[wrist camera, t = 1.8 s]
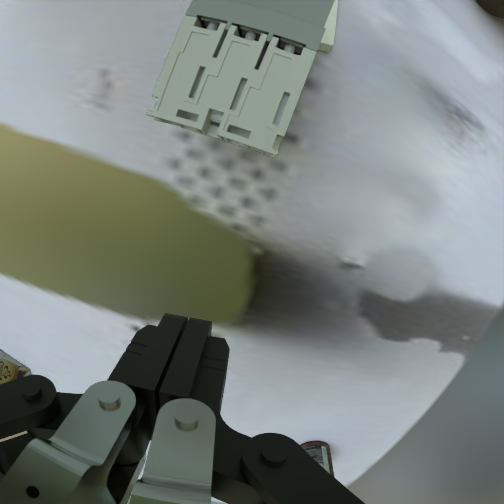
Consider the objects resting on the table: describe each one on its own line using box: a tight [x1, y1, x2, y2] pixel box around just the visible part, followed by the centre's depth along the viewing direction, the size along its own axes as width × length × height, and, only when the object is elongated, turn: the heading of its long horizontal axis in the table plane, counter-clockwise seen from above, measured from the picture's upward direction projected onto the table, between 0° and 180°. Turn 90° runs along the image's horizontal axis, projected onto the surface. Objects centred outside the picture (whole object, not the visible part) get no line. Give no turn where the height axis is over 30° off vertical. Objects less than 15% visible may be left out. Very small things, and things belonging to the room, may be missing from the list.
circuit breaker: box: [146, 0, 335, 158], centre depth 20 cm, size 8×14×15 cm, turn 160°
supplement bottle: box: [301, 441, 334, 477], centre depth 39 cm, size 6×6×11 cm
